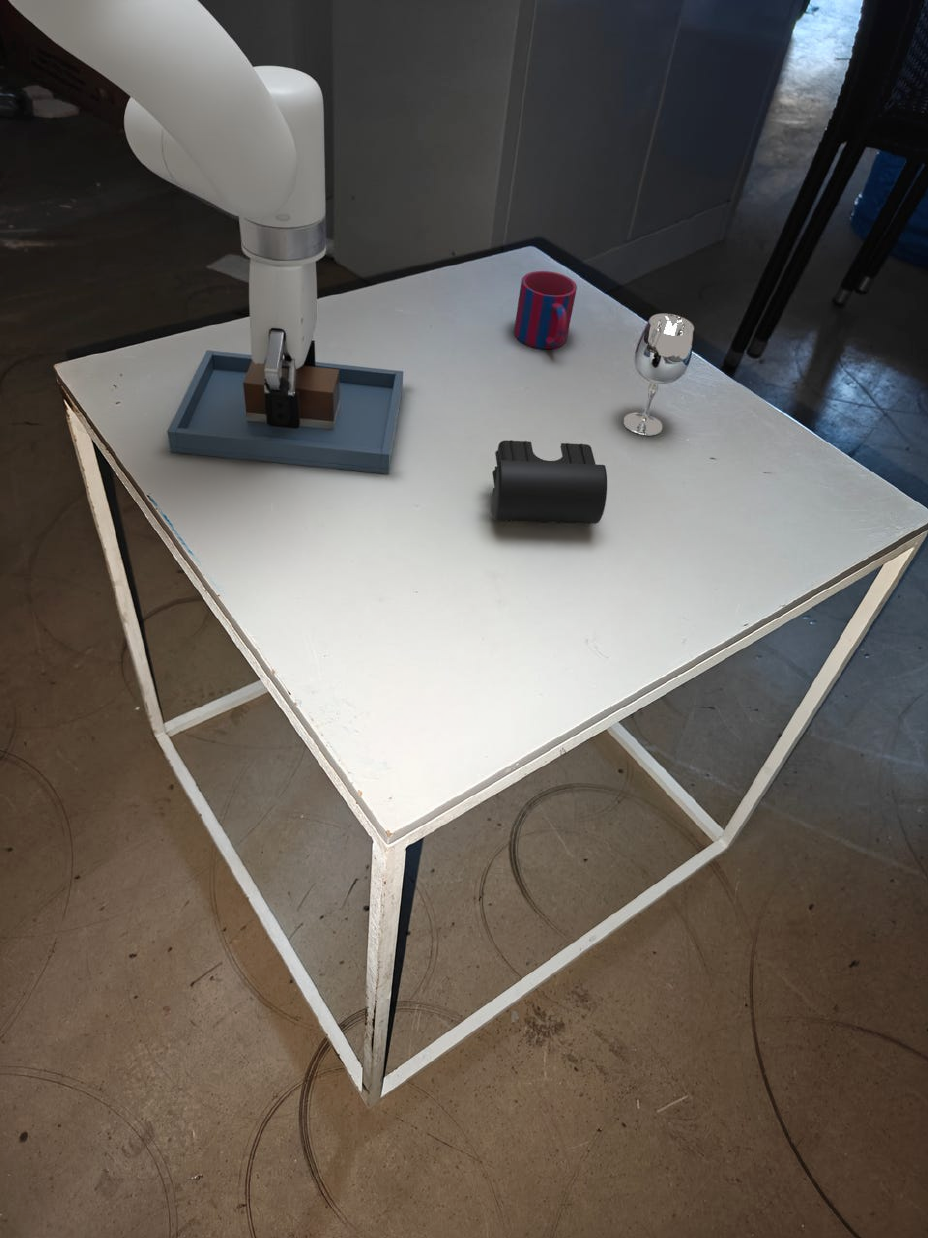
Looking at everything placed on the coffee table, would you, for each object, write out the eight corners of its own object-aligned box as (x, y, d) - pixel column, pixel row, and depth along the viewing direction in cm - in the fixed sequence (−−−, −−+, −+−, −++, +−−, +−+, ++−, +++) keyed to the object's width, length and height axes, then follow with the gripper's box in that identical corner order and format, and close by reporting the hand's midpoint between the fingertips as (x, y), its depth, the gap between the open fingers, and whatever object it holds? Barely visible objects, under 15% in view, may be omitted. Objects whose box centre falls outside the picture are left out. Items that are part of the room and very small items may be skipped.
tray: (170, 451, 85) (166, 431, 83) (209, 369, 96) (206, 349, 94) (388, 474, 86) (389, 454, 84) (402, 389, 97) (403, 370, 95)
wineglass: (629, 441, 94) (658, 340, 85) (609, 411, 98) (634, 312, 89) (676, 436, 95) (709, 337, 87) (655, 407, 99) (684, 309, 90)
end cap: (492, 538, 81) (501, 481, 76) (486, 491, 85) (494, 434, 80) (596, 542, 82) (612, 485, 77) (585, 495, 86) (599, 439, 82)
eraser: (246, 420, 89) (242, 382, 85) (255, 397, 92) (252, 359, 88) (333, 430, 89) (333, 392, 86) (339, 406, 92) (339, 369, 89)
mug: (561, 323, 111) (571, 271, 106) (576, 364, 104) (587, 311, 99) (510, 321, 110) (518, 269, 105) (522, 362, 103) (530, 308, 98)
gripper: (260, 190, 82) (272, 352, 95) (217, 269, 70) (237, 443, 83) (339, 199, 83) (340, 360, 95) (309, 280, 71) (315, 451, 83)
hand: (292, 398), depth 89 cm, fingers open, 9 cm apart
